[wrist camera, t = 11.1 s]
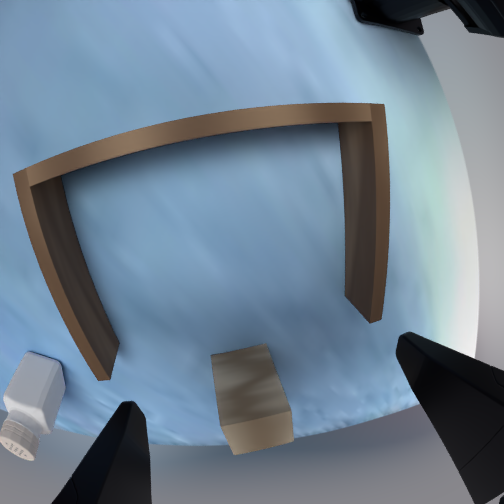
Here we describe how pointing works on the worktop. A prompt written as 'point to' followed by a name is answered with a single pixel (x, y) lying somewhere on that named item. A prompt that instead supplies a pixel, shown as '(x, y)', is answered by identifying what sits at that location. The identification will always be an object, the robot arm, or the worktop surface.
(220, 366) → the maple block
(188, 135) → the wooden u-shaped frame
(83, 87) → the worktop surface
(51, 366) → the salt shaker
